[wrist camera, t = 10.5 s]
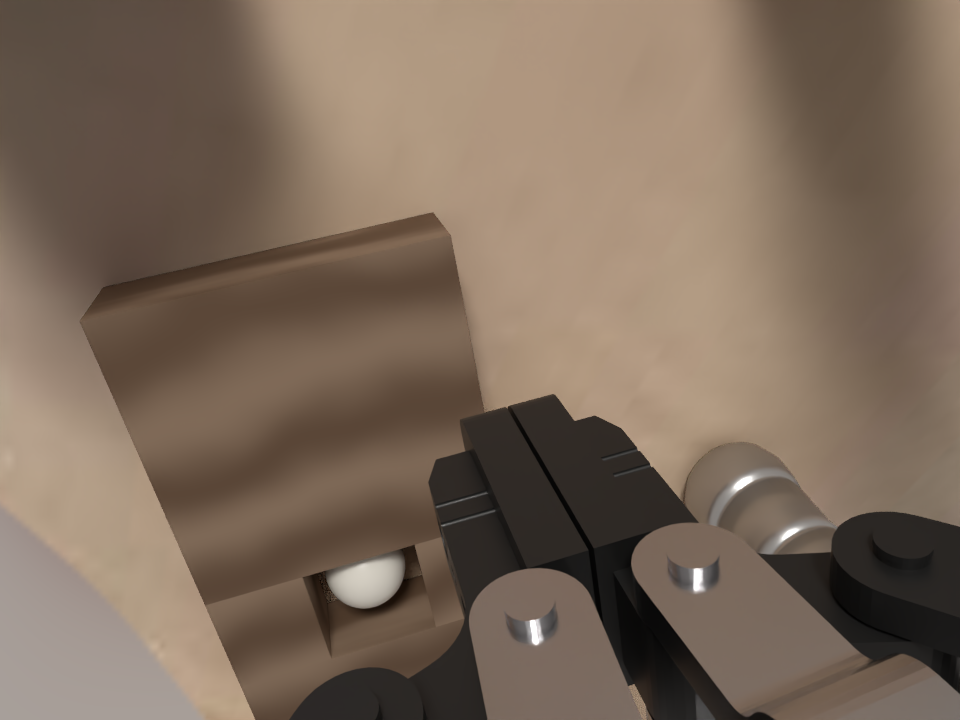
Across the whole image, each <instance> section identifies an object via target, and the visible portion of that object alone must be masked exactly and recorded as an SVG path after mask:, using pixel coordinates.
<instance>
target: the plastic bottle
mask: <svg viewBox="0 0 960 720" xmlns="http://www.w3.org/2000/svg"><path fill="white" fill-rule="evenodd" d="M685 505H686V507H687V509H688V510H689V511H690V512H691V513H692V515H693V516H694V517H695V518H696V520H697V521H698V522H699V523H703V524H709V525H713V526H717V527H720V528H723V529H725V530H728V531H730V532H732V533H734V534H735V535H737V536H739V537H740V538H741V539H742V540H744V541H745V542H746V543H747V544H748V545H749V546H750V547H751V548H752V549H753V550H754V551H755V552H756V553H761V554H802V553H823V552H831V544H832V537H833V534H834V532H835V531H836V530H837V528H838V527H837V526H835V525H834V524H833V523H832V522H831V521H829V520H828V519H827V517H826V516H825V515H824V514H823V513H822V512H821V511H820V510H819V508H818V507H817V506H816V505H815V504H814V503H813V502H812V501H811V499H810V498H809V497H808V496H807V495H806V494H805V493H804V491H803V490H802V489H801V488H800V486H799V484H798V482H797V481H796V479H795V478H794V476H793V475H792V473H791V472H790V471H789V470H788V468H787V467H786V466H785V464H784V463H783V462H782V461H781V460H780V459H779V458H778V457H777V456H775V455H774V454H772V453H770V452H768V451H767V450H765V449H763V448H761V447H760V446H758V445H756V444H752V443H745V442H738V443H729V444H724V445H721V446H718V447H716V448H715V449H713V450H711V451H709V452H708V453H707V454H705V455H704V456H703V457H702V458H701V459H700V460H699V461H698V462H697V463H696V465H695V466H694V467H693V469H692V471H691V473H690V475H689V477H688V480H687V485H686V492H685Z"/></svg>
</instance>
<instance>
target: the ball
mask: <svg viewBox="0 0 960 720" xmlns="http://www.w3.org/2000/svg"><path fill="white" fill-rule="evenodd" d="M404 574H405V557H404V553H403V550H402V549H398V550H395V551H392V552H388V553H385V554H381V555H378V556H374V557H371V558H367V559H364V560H360V561H357V562H354V563H350V564H347V565H343V566H340V567H336V568H333V569H329V570H326V571H325V576H326V581H327V583H328V586H329V588H330V590H331V591H332V593H333V594H334V595H335V596H336V597H337V598H338V599H339V600H340V601H341V602H343V603H345V604H346V605H349V606H351V607H355V608H363V609H366V608H372V607H376V606H379V605H381V604H383V603H385V602H386V601H388V600H389V599H390V598H391V597H392V596H393V595H394V594H395V593H396V592H397V590H398V589H399V587H400V585H401V583H402V581H403V578H404Z"/></svg>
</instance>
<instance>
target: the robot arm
mask: <svg viewBox="0 0 960 720" xmlns="http://www.w3.org/2000/svg"><path fill="white" fill-rule="evenodd" d="M460 427H461V433H462V438H463V443H464V448H465V452H461V453H458V454H454V455H450V456H447V457H443V458H439V459H436V460H435V463H434V466H433V469H432V472H431V475H430V478H429V481H428V484H429V488H430V492H431V496H432V500H433V505H434V509H435V513H436V517H437V521H438V525H439V530H440V534H441V538H442V542H443V546H444V550H445V554H446V559H447V562H448V566H449V569H450V572H451V576H452V579H453V582H454V585H455V589H456V592H457V596H458V599H459V603H460V606H461V609H462V613H463V616H464V624H463V626H462V628H461V631H460V633H459V635H458V636H457V638H456V640H455V641H454V643H453V644H452V645H451V646H450V648H449V649H448V650H447V651H446V652H445V653H444V654H443V655H442V656H441V657H439V658H438V659H437V660H436V661H434V662H433V663H431V664H430V665H429V666H427V667H426V668H424V669H422V670H421V671H419V672H418V673H416V674H415V675H413V676H411V677H410V678H406V677H405V676H403V675H402V674H400V673H398V672H395V671H393V670H390V669H385V668H380V667H367V668H359V669H355V670H351V671H347V672H344V673H342V674H340V675H337V676H335V677H333V678H331V679H330V680H328V681H326V682H324V683H323V684H322V685H320V686H319V687H317V688H316V689H315V690H314V691H313V692H312V693H310V694H309V695H308V696H307V697H306V698H305V699H304V701H303V702H302V703H301V704H300V705H299V707H298V708H297V709H296V711H295V712H294V713H293V715H292V716H291V718H290V719H289V720H642V718H641V716H640V714H639V711H638V709H637V706H636V704H635V702H634V699H633V697H632V694H631V692H630V689H629V687H628V686H629V685H633V684H635V686H636V688H637V690H638V691H639V693H640V695H641V697H642V699H643V701H644V703H645V706H646V716H647V720H960V527H958V526H955V525H951V524H947V523H943V522H939V521H935V520H931V519H927V518H923V517H919V516H915V515H911V514H906V513H898V512H873V513H867V514H862V515H858V516H856V517H853V518H851V519H849V520H847V521H845V522H844V523H842V524H841V525H840V526H839V527H838V528H837V530H836V531H835V532H834V534H833V537H832V544H831V552H823V553H802V554H761V553H756V552H755V551H754V550H753V549H752V548H751V547H750V546H749V545H748V544H747V543H746V542H745V541H744V540H742V539H741V538H740V537H739V536H737V535H735V534H734V533H732V532H730V531H728V530H725V529H723V528H720V527H717V526H713V525H709V524H703V523H699V522H698V521H697V520H696V518H695V517H694V516H693V515H692V513H691V512H690V511H689V510H688V509H687V507H686V506H685V505H684V504H683V503H682V501H681V500H680V499H679V498H678V497H677V495H676V494H675V493H674V492H673V491H672V489H671V488H670V487H669V486H668V484H667V483H666V482H665V481H664V480H663V478H662V477H661V476H660V475H659V474H658V472H657V471H656V470H655V469H654V468H653V467H651V466H650V463H649V461H648V460H647V459H646V458H645V457H644V455H643V454H642V453H641V452H640V451H638V450H637V447H636V446H635V445H634V443H633V442H632V441H631V440H630V438H629V437H628V436H627V435H626V434H625V432H624V431H623V430H622V429H621V428H619V427H617V426H615V425H613V424H611V423H609V422H607V421H605V420H603V419H601V418H599V417H597V416H592V417H588V418H585V419H581V420H577V421H574V420H573V419H572V417H571V416H570V414H569V413H568V412H567V410H566V409H565V408H564V406H563V405H562V403H561V402H560V401H559V399H558V398H557V397H556V396H555V395H554V394H552V395H548V396H544V397H540V398H537V399H533V400H529V401H526V402H522V403H518V404H514V405H511V406H508V409H507V408H506V407H504V408H500V409H496V410H493V411H489V412H485V413H481V414H478V415H474V416H470V417H467V418H463V419H460Z"/></svg>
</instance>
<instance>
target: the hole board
mask: <svg viewBox="0 0 960 720" xmlns="http://www.w3.org/2000/svg"><path fill="white" fill-rule="evenodd" d="M80 323H81V325H82V328H83V330H84V332H85V334H86V337H87V339H88V341H89V343H90V346H91V348H92V350H93V352H94V355H95V357H96V359H97V362H98V364H99V366H100V368H101V371H102V373H103V375H104V377H105V380H106V382H107V384H108V386H109V389H110V391H111V393H112V396H113V398H114V400H115V402H116V405H117V407H118V409H119V411H120V414H121V416H122V418H123V420H124V423H125V425H126V427H127V430H128V432H129V434H130V436H131V439H132V441H133V443H134V445H135V448H136V450H137V452H138V454H139V457H140V459H141V461H142V464H143V466H144V468H145V470H146V473H147V475H148V477H149V479H150V482H151V484H152V486H153V488H154V491H155V493H156V495H157V497H158V500H159V502H160V504H161V507H162V509H163V511H164V513H165V516H166V518H167V520H168V522H169V525H170V527H171V529H172V531H173V534H174V536H175V538H176V541H177V543H178V545H179V547H180V550H181V552H182V554H183V556H184V559H185V561H186V563H187V565H188V568H189V570H190V572H191V575H192V577H193V579H194V581H195V584H196V586H197V588H198V590H199V593H200V595H201V597H202V599H203V602H204V604H205V606H206V609H207V611H208V613H209V615H210V618H211V620H212V622H213V624H214V627H215V629H216V631H217V633H218V636H219V638H220V640H221V642H222V645H223V647H224V649H225V652H226V654H227V656H228V658H229V661H230V663H231V665H232V667H233V670H234V672H235V674H236V676H237V679H238V681H239V683H240V686H241V688H242V690H243V692H244V695H245V697H246V699H247V701H248V704H249V706H250V708H251V710H252V713H253V715H254V717H255V720H289V719H290V718H291V716H292V715H293V713H294V712H295V711H296V709H297V708H298V707H299V705H300V704H301V703H302V702H303V701H304V699H305V698H306V697H307V696H308V695H309V694H310V693H312V692H313V691H314V690H315V689H316V688H317V687H319V686H320V685H322V684H323V683H324V682H326V681H328V680H330V679H331V678H333V677H335V676H337V675H340V674H342V673H344V672H347V671H351V670H355V669H359V668H367V667H380V668H385V669H390V670H393V671H395V672H398V673H400V674H402V675H403V676H405V677H406V678H410V677H411V676H413V675H415V674H416V673H418V672H419V671H421V670H422V669H424V668H426V667H427V666H429V665H430V664H431V663H433V662H434V661H436V660H437V659H438V658H439V657H441V656H442V655H443V654H444V653H445V652H446V651H447V650H448V649H449V648H450V646H451V645H452V644H453V643H454V641H455V640H456V638H457V636H458V635H459V633H460V631H461V628H462V626H463V624H464V616H463V613H462V609H461V606H460V603H459V599H458V596H457V592H456V589H455V585H454V582H453V579H452V576H451V572H450V569H449V566H448V562H447V559H446V554H445V550H444V546H443V542H442V538H441V534H440V530H439V525H438V521H437V517H436V513H435V509H434V505H433V500H432V496H431V492H430V488H429V484H428V481H429V478H430V475H431V472H432V469H433V466H434V463H435V460H436V459H439V458H443V457H447V456H450V455H454V454H458V453H461V452H465V448H464V443H463V438H462V433H461V427H460V419H463V418H467V417H470V416H474V415H478V414H481V413H484V408H483V403H482V398H481V392H480V387H479V382H478V377H477V371H476V366H475V361H474V356H473V350H472V345H471V340H470V335H469V329H468V324H467V319H466V314H465V308H464V303H463V298H462V293H461V287H460V282H459V277H458V272H457V266H456V261H455V256H454V250H453V245H452V240H451V235H450V234H449V233H448V231H447V230H446V229H445V227H444V226H443V225H442V223H441V222H440V221H439V220H438V218H437V217H436V216H435V214H434V213H429V214H424V215H420V216H416V217H411V218H407V219H402V220H398V221H394V222H389V223H385V224H380V225H376V226H372V227H367V228H363V229H358V230H354V231H350V232H345V233H341V234H336V235H332V236H328V237H323V238H319V239H314V240H310V241H306V242H301V243H297V244H292V245H288V246H284V247H279V248H275V249H271V250H266V251H262V252H257V253H253V254H249V255H244V256H240V257H235V258H231V259H227V260H222V261H218V262H213V263H209V264H205V265H200V266H196V267H191V268H187V269H183V270H178V271H174V272H169V273H165V274H161V275H156V276H152V277H147V278H143V279H139V280H134V281H130V282H125V283H121V284H117V285H112V286H108V287H104V288H103V289H102V290H101V292H100V293H99V294H98V296H97V297H96V299H95V300H94V302H93V303H92V305H91V306H90V307H89V309H88V310H87V312H86V313H85V315H84V316H83V318H82V319H81V320H80ZM412 545H415V548H416V552H417V556H418V560H419V564H420V568H421V571H422V575H421V576H418V577H415V578H411V579H408V580H404V581H402V583H401V585H400V587H399V589H398V590H397V592H396V593H395V594H394V595H393V596H392V597H391V598H390V599H389V600H388V601H386V602H385V603H383V604H381V605H379V606H376V607H372V608H366V609H363V608H355V607H351V606H349V605H346V604H345V603H343V602H341V601H340V600H337V601H333V602H330V603H327V600H326V597H325V595H324V592H323V589H322V586H321V583H320V580H319V577H318V574H317V573H319V572H322V571H326V570H329V569H333V568H336V567H340V566H343V565H347V564H350V563H354V562H357V561H360V560H364V559H367V558H371V557H374V556H378V555H381V554H385V553H388V552H392V551H395V550H398V549H402V548H405V547H409V546H412Z"/></svg>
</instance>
